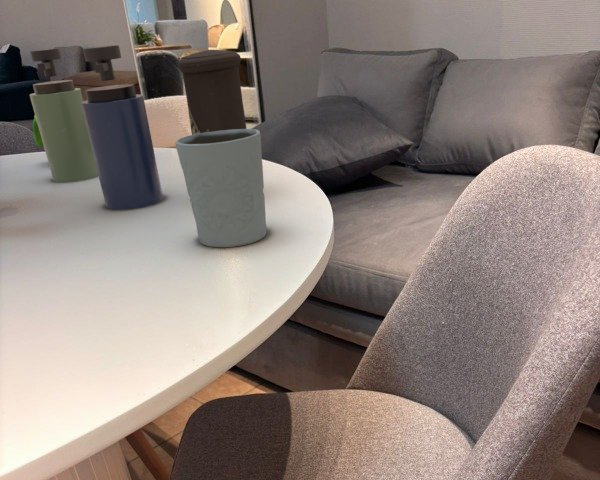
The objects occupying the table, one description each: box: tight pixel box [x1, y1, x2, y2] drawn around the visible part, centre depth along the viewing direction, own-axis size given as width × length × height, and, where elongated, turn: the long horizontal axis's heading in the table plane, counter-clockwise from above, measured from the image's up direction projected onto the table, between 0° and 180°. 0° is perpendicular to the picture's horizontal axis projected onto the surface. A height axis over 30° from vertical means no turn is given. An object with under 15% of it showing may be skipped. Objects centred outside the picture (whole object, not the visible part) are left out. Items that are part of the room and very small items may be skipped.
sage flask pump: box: [29, 47, 62, 78], centre depth 112 cm, size 8×5×4 cm, turn 7°
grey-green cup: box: [174, 128, 268, 248], centre depth 78 cm, size 10×10×12 cm
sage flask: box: [29, 79, 99, 183], centre depth 119 cm, size 9×9×16 cm
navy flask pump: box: [82, 44, 122, 82], centre depth 90 cm, size 8×5×4 cm, turn 7°
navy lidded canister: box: [81, 83, 164, 211], centre depth 97 cm, size 9×9×16 cm
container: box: [177, 49, 247, 135], centre depth 94 cm, size 9×9×20 cm
